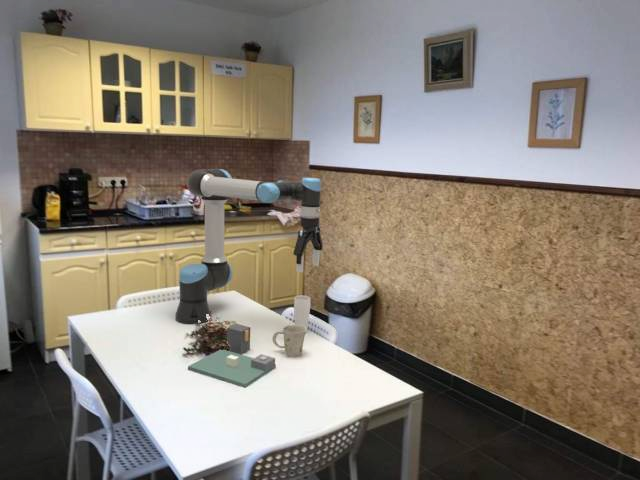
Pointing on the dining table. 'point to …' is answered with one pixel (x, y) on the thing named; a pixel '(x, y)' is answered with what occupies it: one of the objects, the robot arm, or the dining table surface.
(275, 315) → the dining table surface
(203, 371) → the board
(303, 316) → the drinking glass
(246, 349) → the dark gray box
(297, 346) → the mug
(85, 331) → the dining table surface
